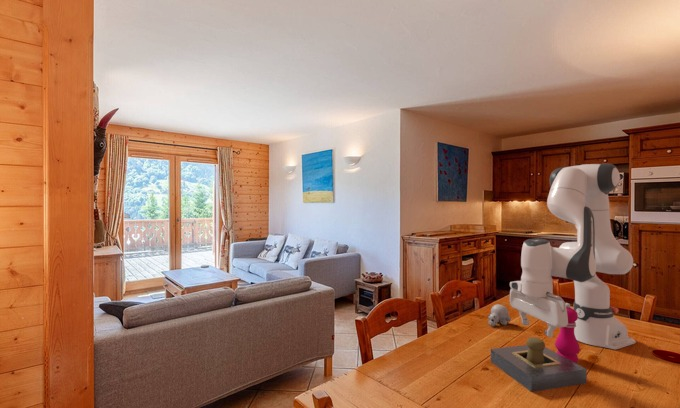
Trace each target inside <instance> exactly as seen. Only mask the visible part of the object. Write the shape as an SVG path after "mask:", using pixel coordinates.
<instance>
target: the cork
mask: <svg viewBox="0 0 680 408" xmlns="http://www.w3.org/2000/svg"><path fill="white" fill-rule="evenodd" d="M526 345H527V346H528V353H527V360H528V361H530V362H531V363H533V364H535V365H538V364H545V362H544V355H543V350H544V348H545V347H546V344H545V341H543V339H541V338H540V337H534V336H533V337H532V336H531V337H528V338H527V339H526Z"/></svg>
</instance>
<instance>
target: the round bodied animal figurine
mask: <svg viewBox="0 0 680 408" xmlns="http://www.w3.org/2000/svg"><path fill="white" fill-rule="evenodd" d="M487 315H488V325H489V326H490V327H495V326H496V324H499V323H500V324H501V325H502V326H506V325H507V324H508V322H510V321H511V319H512V318H511V316H510V315H509V310H508V309H507V307H506V306H505V305H502V304H500V303H499V304H498V303H497V304H494V305H493V306H492V307H491V308H490V313H487Z"/></svg>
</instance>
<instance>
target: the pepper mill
mask: <svg viewBox="0 0 680 408" xmlns="http://www.w3.org/2000/svg"><path fill="white" fill-rule="evenodd" d="M565 306H566V310H567V316H568V325H567V326H566V327H560V330H559V334H558V335H557V337H556V338H555V342H554V347H555V348H556V350H557V351H556V353H558V354H559V355H561V356H563V357H565V358H567V359H569V360H571V361H572V362H574V363H576V364H578V362H579V356H578V354H579V353H580V351H581V348H580V344H579V341H578V340H576V337H575V334H574V328H575V327H576V322H575V321H576V320H577V319H578V314H577V312H576V311H575V310H574V308H573V307H571V304H570V303H568V302H565Z"/></svg>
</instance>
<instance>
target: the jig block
mask: <svg viewBox="0 0 680 408" xmlns="http://www.w3.org/2000/svg"><path fill="white" fill-rule="evenodd" d="M527 353H528V346H527V344H525V345H524V344H523V345H515V346H514V345H513V346H506V347H497V348H490V363H491V364H493V365H494V366H495V367H497V368H499V369H500V370H501V371H502V372H504V373H505V374H506V375H508V376H509V377H511V379H513V380H515V381H516V382H517V383H518V384H520V385H521V386H523V387H524V388H525V389H526V390H528V391H529V392H530V393H532V392H533V393H534V392H539V391H545V390H546V391H547V390H552V389H559V388H560V389H561V388H566V387H573V386H580V385H585V384H587V372H588V371H587V368H585V367H583V366H582V365H580V364H578V363H574V362H572V361H571V360H569V359H567V358H565V357H563V356H561V355H559V354H558V353H557V351H554V350H552V349H550V348H548V347H547V346H545V348H544V350H543V355H544V362H545V364H538V365H535V364H533V363H531V362H530V361H528V360H527Z"/></svg>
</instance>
